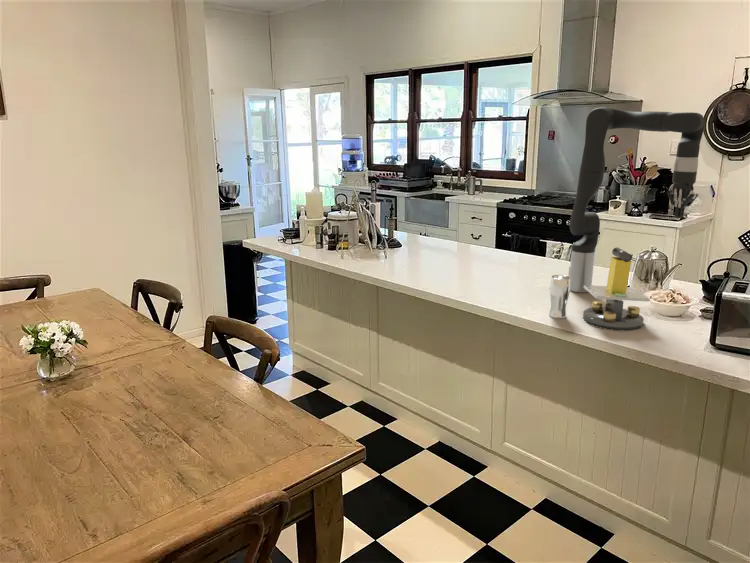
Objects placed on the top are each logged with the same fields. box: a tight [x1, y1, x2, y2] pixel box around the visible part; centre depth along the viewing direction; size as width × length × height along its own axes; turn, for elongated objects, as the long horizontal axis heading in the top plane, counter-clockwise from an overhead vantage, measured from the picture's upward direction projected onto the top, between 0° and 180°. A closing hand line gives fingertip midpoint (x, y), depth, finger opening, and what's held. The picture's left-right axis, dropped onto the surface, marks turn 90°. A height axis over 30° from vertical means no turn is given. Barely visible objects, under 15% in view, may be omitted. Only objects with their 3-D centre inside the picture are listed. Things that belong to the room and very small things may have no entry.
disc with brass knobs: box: [582, 299, 645, 331], centre depth 197 cm, size 20×20×10 cm
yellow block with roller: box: [584, 247, 651, 302], centre depth 194 cm, size 14×18×16 cm
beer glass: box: [548, 274, 571, 320], centre depth 202 cm, size 7×7×15 cm
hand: (678, 217), depth 204 cm, fingers closed
